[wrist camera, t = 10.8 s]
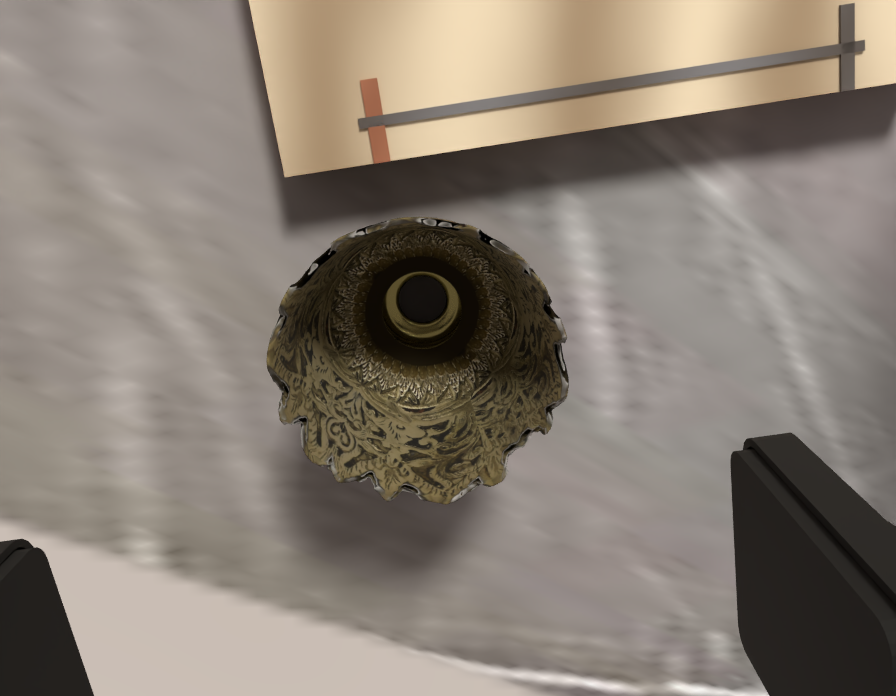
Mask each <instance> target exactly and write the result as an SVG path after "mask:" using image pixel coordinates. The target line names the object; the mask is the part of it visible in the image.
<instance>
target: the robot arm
mask: <svg viewBox="0 0 896 696" xmlns="http://www.w3.org/2000/svg"><path fill="white" fill-rule="evenodd" d="M731 483H732V504H733V526H734V547H735V568H736V589H737V610H738V626H739V633H740V637H741V641H742V644H743V647H744V650H745V652H746V654H747V656H748V658H749V660H750V661H751V663H752V665H753V667H754V669H755V670H756V672H757V674H758V676H759V678H760V679H761V681H762V683H763V685H764V687H765V688H766V690H767V692H768V694H769V696H896V526H894V525H893V524H891V523H890V522H887V521H886V520H885V519H884V518H883V517H882V516H881V515H880V514H879V513H878V512H877V511H875V510H874V509H873V508H872V507H871V506H870V505H869V504H868V503H867V502H866V501H865V500H864V499H863V498H862V497H860V496H859V495H858V494H857V493H856V492H855V491H854V490H853V489H852V488H851V487H850V486H849V485H848V484H847V483H846V482H844V481H843V480H842V479H841V478H840V477H839V476H838V475H837V474H836V473H835V472H834V471H833V470H832V469H831V468H830V467H828V466H827V465H826V464H825V463H824V462H823V461H822V460H821V459H820V458H819V457H818V456H817V455H816V454H815V453H813V452H812V451H811V450H810V449H809V448H808V447H807V446H806V445H805V444H804V443H803V442H802V441H801V440H800V439H799V438H797V437H796V436H795V435H794V434H792V433H785V434H777V435H770V436H763V437H756V438H749V439H746V441H745V442H744V446H743V450H741V451H734V452H733V453H732V455H731ZM0 696H94V694H93V692H92V689H91V685H90V683H89V680H88V677H87V674H86V671H85V668H84V665H83V662H82V659H81V656H80V653H79V650H78V647H77V645H76V642H75V639H74V636H73V633H72V630H71V627H70V624H69V621H68V618H67V615H66V612H65V609H64V606H63V603H62V601H61V597H60V595H59V592H58V589H57V586H56V583H55V580H54V577H53V574H52V571H51V568H50V565H49V562H48V559H47V557H46V555H45V553H44V552H43V551H42V550H41V549H40V548H34V547H33V546H32V545H31V544H30V543H29V542H28V541H27V540H24V539H17V540H10V541H3V542H0Z"/></svg>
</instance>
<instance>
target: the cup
mask: <svg viewBox="0 0 896 696" xmlns="http://www.w3.org/2000/svg"><path fill="white" fill-rule="evenodd" d="M418 276H426V277H430V278H433V279H435V280H436V281H438V282H439V283H440V284H441V285H442V287H443V289H444V291H445V294H446V306H445V309H444V311H443V312H442V314H441V315H440V316H439V317H438V318H436V319H435V320H433V321H430V322H426V323H419V322H415V321H412V320H411V319H409V318H408V317H406V316H405V315H404V313H403V312H402V310H401V308H400V305H399V293H400V290H401V288H402V287H403V285H404V284H405V283H406V282H407V281H409V280H410V279H412V278H414V277H418ZM551 302H552V301H551V299H550V297H549V295H548V291H547V289H546V287H545V285H544V284H543V282H542V281H541V280H540V279H539V278H538V276H537V275H536V274H535V272H534V271H533V269H531V268H529V264H528V263H527V262H526V261H525V260H524V259H523V258H522V257H521V256H520V255H518V254H517V253H516V252H515V251H513V250H512V249H510V248H509V247H507V246H506V245H504V244H503V243H501V242H499V241H497V240H495V239H493V238H491V237H489V236H488V235H486V234H484V233H483V232H482V231H481V230H479V229H477V228H475V227H473V226H470V225H466V224H459V223H456V222H453V221H449V220H444V219H438V218H429V217H406V218H397V219H392V220H388V221H385V222H381V223H378V224H375V225H371V226H368V227H365V228H362V229H359V230H356V231H354V232H351V233H349V234H346V235H344V236H342V237H340V238H338V239H337V240H335V241H334V242H332V243H331V248H329V249H328V250H327V251H326V252H325V253H324V254H323V255H321V256H320V257H319V258H318V259H316V260H315V261H314V262H313V263H312V265H311V266H310V268H309V269H308V270H307V271H306V272H305V274H304V275H303V277H302V278H301V279H300V280H299V281H298V282H296V283H295V284H293V285H291V286H290V287H289V289H288V290H287V292H286V294H285V296H284V297H283V299H282V301H281V304H280V307H279V313H280V317H279V319H278V322H277V324H276V326H275V328H274V330H273V332H272V335H271V338H270V342H269V347H268V351H267V368H268V371H269V373H270V375H271V377H272V379H273V381H274V382H275V383H276V384H277V385H278V387H279V389H280V390H281V392H282V397H281V400H280V402H279V409H278V411H279V416H280V421H281V422H282V423H283V424H291V425H292V424H295V425H296V424H297V423H301V444H302V448H303V450H304V452H305V454H306V455H307V457H308V458H309V459H310V460H311V461H312V462H313V463H315V464H317V465H319V466H321V467H323V466H324V465H327V466H328V469H329V470H331V471H332V473H333V475H334V478H335V479H336V481H337V482H339V483H346V482H352V481H358V482H362V481H364V480H365V479H367V478H368V477H369V478H371V481H372V483H373V484H374V489H375V490H376V491H377V492H378V493H379V494H380V495H381V496H382V498H383V499H384V500H386V501H391V500H393V499H394V498H395V497H397V496H398V495H399V494H400V492H402V491H407V492H411V493H414V494H416V495H418V497H419V498H420V499H421V500H426V501H431V502H436V503H441V504H450V503H452V502H455V501H457V500H458V499H460V498H461V497H462V496H464V495H465V494H466V493H467V492H469V491H472V490H473V489H475V488H476V487H477V486H479V485H480V484H483V485H484V486H486V487H491V486H494V485H496V484H498V483H500V482H502V481H503V479H504V478H505V476H506V474H507V472H508V469H507V466H506V465H507V460H508V456H509V455H510V454H511V453H513V452H514V450H516V449H518V448H522V447H524V446H525V444H526V443H527V440H528V438H529V436H530V435H531V434H532V433H533V432H538V431H540V432H541V433H542V434H544V435H545V434H547V433H548V432H549V430H550V429H551V426H552V422H553V416H552V410H553V409H554V408H555V407H557V406H559V404H561V403H562V402H564V401H565V399H566V397H567V393H568V386H569V380H568V374H567V369H566V365H565V362H564V359H563V353H562V346H561V343H565V341H566V339H567V335H566V332H565V329H564V326H563V324H562V321H561V319H560V317H558V316H557V315H556V314H555V313H554V311H553V310H552V308H551V307H550V304H551ZM298 420H300V421H298ZM295 421H296V422H295Z"/></svg>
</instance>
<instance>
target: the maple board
mask: <svg viewBox="0 0 896 696" xmlns="http://www.w3.org/2000/svg"><path fill="white" fill-rule="evenodd" d="M249 5H250V10H251V15H252V19H253V24H254V29H255V34H256V39H257V44H258V49H259V54H260V59H261V64H262V68H263V73H264V78H265V83H266V88H267V93H268V98H269V103H270V108H271V113H272V118H273V122H274V127H275V132H276V137H277V142H278V147H279V152H280V157H281V162H282V167H283V172H284V176H285V177H290V176H296V175H303V174H309V173H316V172H322V171H329V170H335V169H342V168H348V167H355V166H361V165H368V164H375V163H382V162H388V161H394V160H400V159H407V158H413V157H420V156H426V155H433V154H439V153H446V152H452V151H459V150H465V149H472V148H478V147H485V146H491V145H497V144H504V143H510V142H517V141H523V140H530V139H536V138H543V137H549V136H556V135H562V134H569V133H575V132H582V131H588V130H595V129H601V128H608V127H614V126H621V125H627V124H634V123H640V122H647V121H653V120H660V119H666V118H673V117H679V116H685V115H692V114H698V113H705V112H711V111H718V110H724V109H731V108H737V107H744V106H750V105H757V104H763V103H770V102H776V101H783V100H789V99H796V98H802V97H809V96H815V95H822V94H828V93H835V92H842V91H849V90H855V89H861V88H867V87H874V86H880V85H886V84H893V83H896V0H249Z"/></svg>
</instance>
